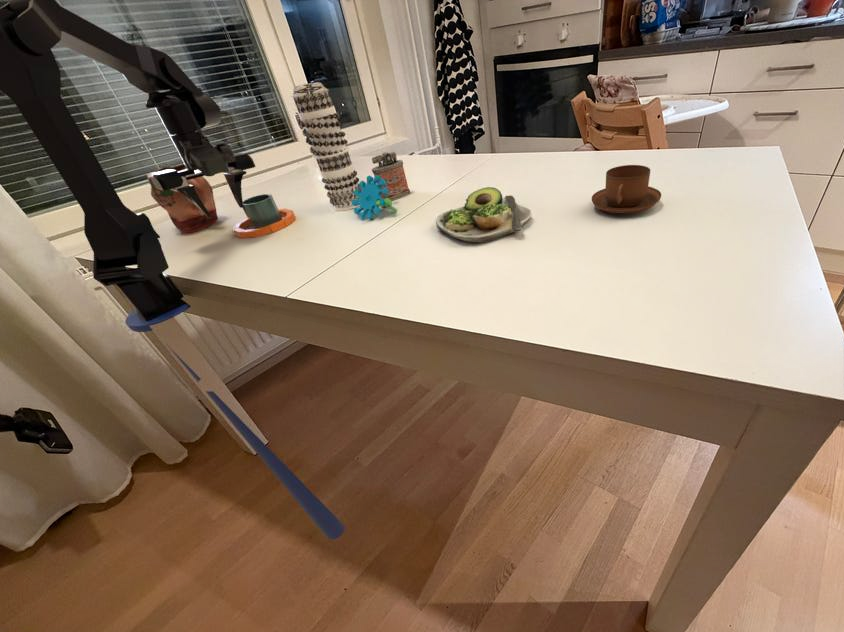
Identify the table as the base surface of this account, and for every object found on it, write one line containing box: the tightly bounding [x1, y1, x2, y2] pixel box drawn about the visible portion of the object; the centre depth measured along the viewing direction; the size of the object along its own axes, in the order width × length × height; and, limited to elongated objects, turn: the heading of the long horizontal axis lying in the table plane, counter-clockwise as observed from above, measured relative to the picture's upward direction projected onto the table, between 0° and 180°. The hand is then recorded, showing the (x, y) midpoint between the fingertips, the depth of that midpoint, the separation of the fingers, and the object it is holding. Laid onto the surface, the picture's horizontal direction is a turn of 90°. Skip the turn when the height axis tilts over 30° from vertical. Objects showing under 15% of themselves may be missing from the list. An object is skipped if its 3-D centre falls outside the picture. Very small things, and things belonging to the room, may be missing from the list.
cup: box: [242, 193, 284, 229], centre depth 93 cm, size 7×7×6 cm
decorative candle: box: [291, 81, 361, 212], centre depth 90 cm, size 9×9×25 cm
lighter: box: [371, 151, 411, 202], centre depth 94 cm, size 8×3×10 cm, turn 130°
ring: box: [232, 208, 296, 239], centre depth 94 cm, size 14×14×1 cm
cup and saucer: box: [591, 164, 662, 214], centre depth 71 cm, size 12×12×6 cm
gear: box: [352, 175, 398, 220], centre depth 89 cm, size 11×6×10 cm
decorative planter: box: [146, 163, 219, 233], centre depth 98 cm, size 20×12×14 cm, turn 64°
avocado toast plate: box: [435, 186, 532, 243], centre depth 74 cm, size 19×18×5 cm
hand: (225, 212), depth 88 cm, fingers open, 7 cm apart
